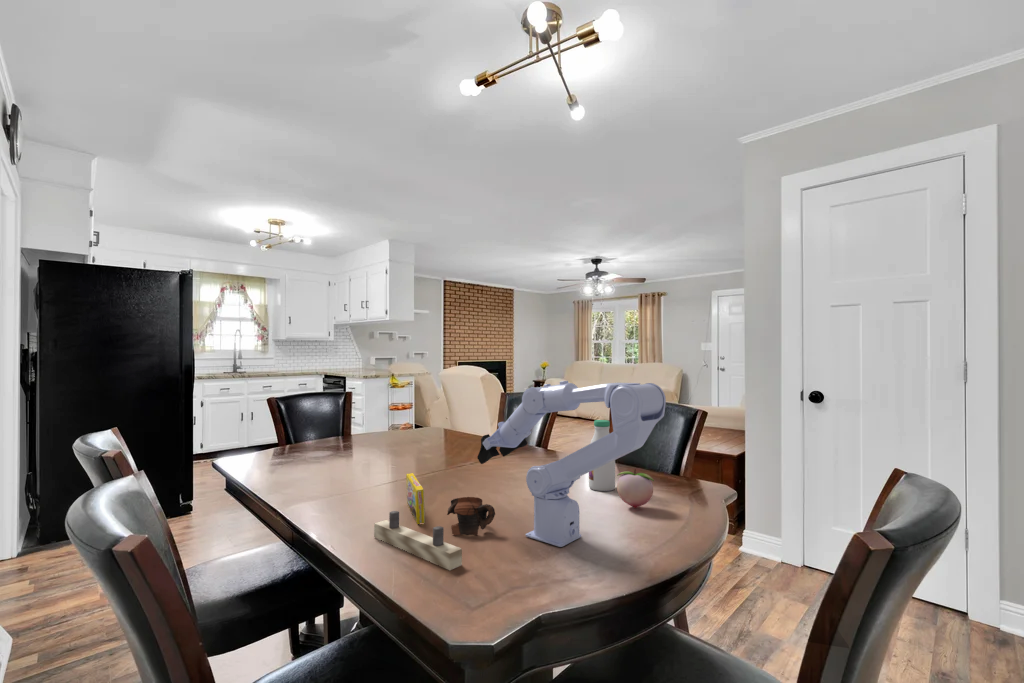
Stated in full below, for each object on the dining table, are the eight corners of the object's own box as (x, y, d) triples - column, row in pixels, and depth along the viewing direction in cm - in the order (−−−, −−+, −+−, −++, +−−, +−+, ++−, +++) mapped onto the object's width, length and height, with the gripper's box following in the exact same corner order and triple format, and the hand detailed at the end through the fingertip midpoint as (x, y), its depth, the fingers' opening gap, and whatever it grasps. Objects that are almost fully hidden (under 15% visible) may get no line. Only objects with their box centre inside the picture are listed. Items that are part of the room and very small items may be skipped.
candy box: (405, 505, 125) (406, 473, 125) (413, 504, 126) (414, 472, 126) (415, 525, 110) (416, 489, 110) (425, 524, 111) (425, 488, 111)
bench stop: (461, 565, 89) (462, 532, 89) (449, 570, 87) (450, 536, 87) (386, 533, 104) (386, 505, 105) (374, 537, 102) (374, 509, 102)
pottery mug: (438, 537, 104) (439, 498, 108) (460, 543, 111) (460, 507, 116) (487, 530, 100) (486, 490, 104) (506, 536, 107) (505, 499, 112)
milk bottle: (619, 487, 143) (618, 420, 143) (609, 493, 136) (609, 422, 137) (594, 483, 147) (594, 418, 148) (584, 489, 140) (584, 420, 141)
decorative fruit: (615, 511, 120) (614, 471, 121) (617, 502, 128) (617, 464, 128) (654, 515, 118) (653, 474, 118) (654, 505, 125) (654, 466, 126)
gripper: (530, 405, 118) (502, 437, 126) (488, 416, 108) (461, 450, 115) (546, 428, 115) (517, 459, 123) (504, 441, 105) (476, 475, 112)
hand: (491, 456), depth 119 cm, fingers open, 7 cm apart
